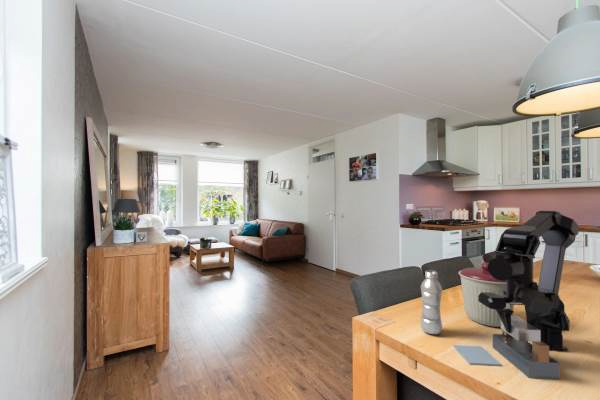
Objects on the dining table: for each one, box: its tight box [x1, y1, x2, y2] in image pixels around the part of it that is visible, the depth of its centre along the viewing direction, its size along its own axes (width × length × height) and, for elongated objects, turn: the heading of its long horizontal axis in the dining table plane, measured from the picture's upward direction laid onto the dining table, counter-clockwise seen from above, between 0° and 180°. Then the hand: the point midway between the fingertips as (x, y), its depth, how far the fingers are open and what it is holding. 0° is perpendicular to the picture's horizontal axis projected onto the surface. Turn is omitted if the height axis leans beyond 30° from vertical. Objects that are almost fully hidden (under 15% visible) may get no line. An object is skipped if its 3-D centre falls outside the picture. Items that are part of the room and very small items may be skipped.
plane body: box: [492, 329, 560, 380], centre depth 73 cm, size 14×7×8 cm, turn 175°
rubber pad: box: [452, 344, 502, 367], centre depth 76 cm, size 9×8×1 cm
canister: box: [458, 262, 515, 328], centre depth 98 cm, size 18×18×21 cm
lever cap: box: [500, 314, 541, 343], centre depth 74 cm, size 7×5×4 cm
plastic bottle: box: [420, 269, 443, 335], centre depth 89 cm, size 6×7×20 cm
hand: (519, 332), depth 74 cm, fingers closed on lever cap, 5 cm apart
